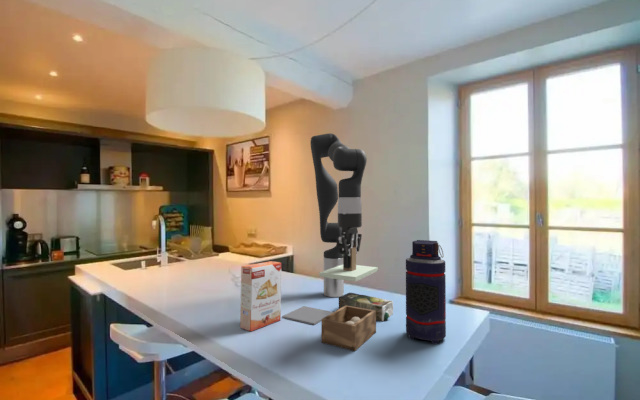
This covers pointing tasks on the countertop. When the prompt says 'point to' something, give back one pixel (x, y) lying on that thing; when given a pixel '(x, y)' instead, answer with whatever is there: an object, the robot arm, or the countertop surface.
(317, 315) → the plate
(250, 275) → the cracker box
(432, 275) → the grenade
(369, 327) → the egg box
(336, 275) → the lid
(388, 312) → the juice carton
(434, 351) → the countertop surface
